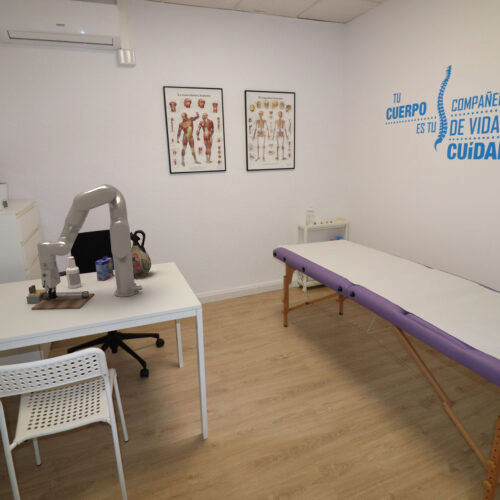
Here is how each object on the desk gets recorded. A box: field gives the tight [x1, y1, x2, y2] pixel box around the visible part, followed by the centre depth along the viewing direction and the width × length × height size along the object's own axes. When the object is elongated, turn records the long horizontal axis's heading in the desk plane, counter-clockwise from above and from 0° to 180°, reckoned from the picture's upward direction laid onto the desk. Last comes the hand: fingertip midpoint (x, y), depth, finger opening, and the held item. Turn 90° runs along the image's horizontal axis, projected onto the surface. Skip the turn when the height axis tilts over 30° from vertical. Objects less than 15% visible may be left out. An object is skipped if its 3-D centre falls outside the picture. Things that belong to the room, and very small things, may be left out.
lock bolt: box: [27, 284, 46, 296], centre depth 189 cm, size 6×6×4 cm
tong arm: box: [43, 290, 90, 300], centre depth 189 cm, size 23×4×3 cm, turn 90°
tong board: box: [31, 292, 95, 311], centre depth 187 cm, size 24×18×1 cm
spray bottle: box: [65, 256, 82, 290], centre depth 207 cm, size 7×7×18 cm
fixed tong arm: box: [47, 291, 83, 294], centre depth 191 cm, size 19×2×2 cm, turn 91°
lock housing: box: [26, 291, 48, 305], centre depth 190 cm, size 6×8×4 cm
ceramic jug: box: [130, 229, 152, 279], centre depth 223 cm, size 17×15×30 cm
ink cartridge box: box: [94, 255, 115, 282], centre depth 221 cm, size 10×6×14 cm, turn 163°
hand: (53, 298), depth 186 cm, fingers closed
